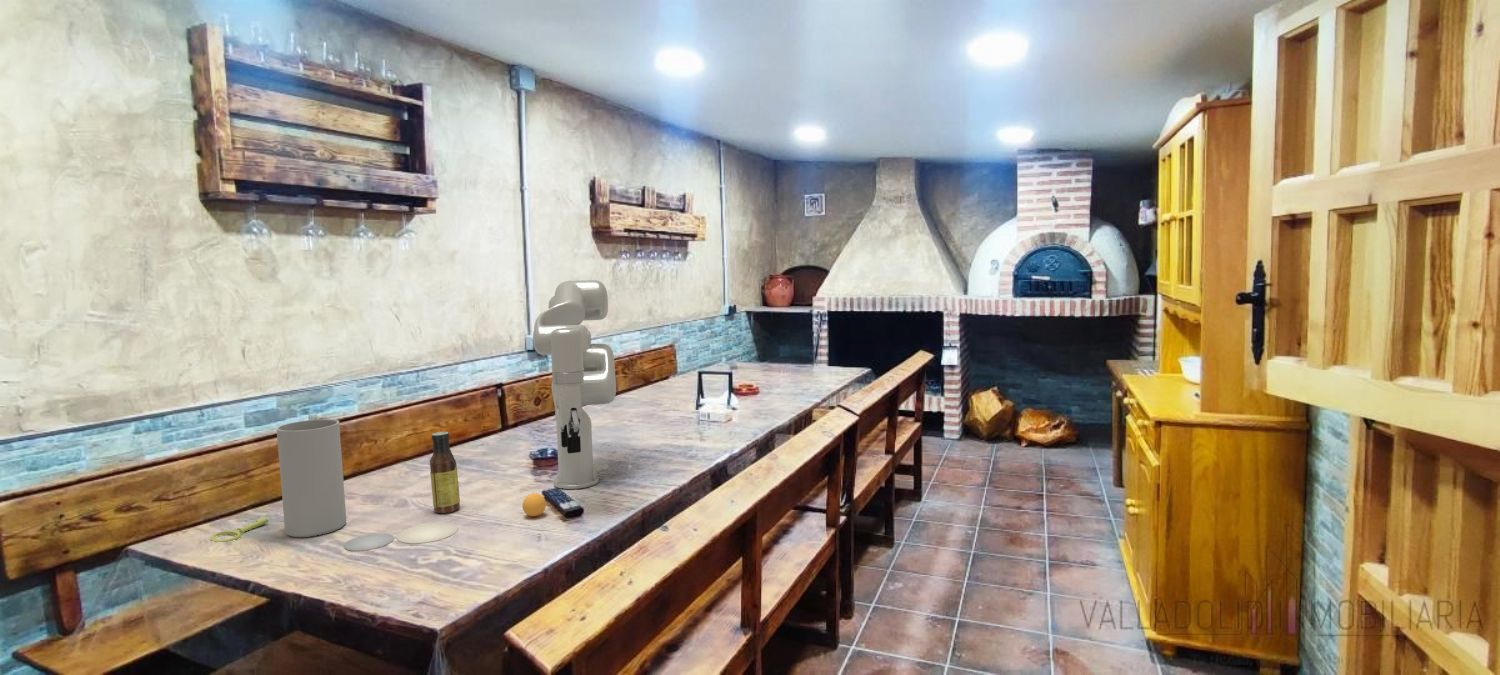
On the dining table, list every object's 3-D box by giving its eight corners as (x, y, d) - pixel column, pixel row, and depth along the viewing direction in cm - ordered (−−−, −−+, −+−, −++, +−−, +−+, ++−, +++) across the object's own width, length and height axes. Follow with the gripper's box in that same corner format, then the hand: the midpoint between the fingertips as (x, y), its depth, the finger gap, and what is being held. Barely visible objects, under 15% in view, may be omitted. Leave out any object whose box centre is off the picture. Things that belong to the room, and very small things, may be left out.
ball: (539, 510, 182) (538, 489, 182) (550, 515, 178) (549, 494, 178) (519, 515, 179) (518, 494, 178) (529, 521, 175) (528, 499, 174)
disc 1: (386, 530, 170) (386, 529, 170) (400, 542, 163) (400, 541, 163) (338, 542, 163) (338, 541, 163) (350, 554, 156) (350, 553, 156)
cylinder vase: (310, 541, 164) (302, 432, 161) (272, 534, 169) (263, 429, 166) (358, 522, 176) (351, 421, 173) (321, 517, 180) (314, 417, 178)
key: (271, 525, 176) (270, 516, 176) (232, 545, 164) (231, 536, 164) (242, 525, 177) (242, 516, 176) (202, 545, 164) (201, 536, 164)
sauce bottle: (465, 508, 185) (461, 431, 183) (446, 515, 179) (441, 437, 177) (446, 504, 188) (442, 429, 186) (427, 512, 182) (422, 434, 180)
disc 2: (446, 519, 177) (446, 518, 177) (466, 532, 168) (466, 532, 168) (389, 532, 168) (388, 532, 168) (407, 548, 159) (407, 547, 159)
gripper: (546, 374, 185) (549, 443, 187) (559, 384, 170) (562, 459, 172) (575, 372, 188) (578, 440, 190) (591, 381, 173) (594, 455, 175)
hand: (571, 448), depth 181 cm, fingers open, 6 cm apart
